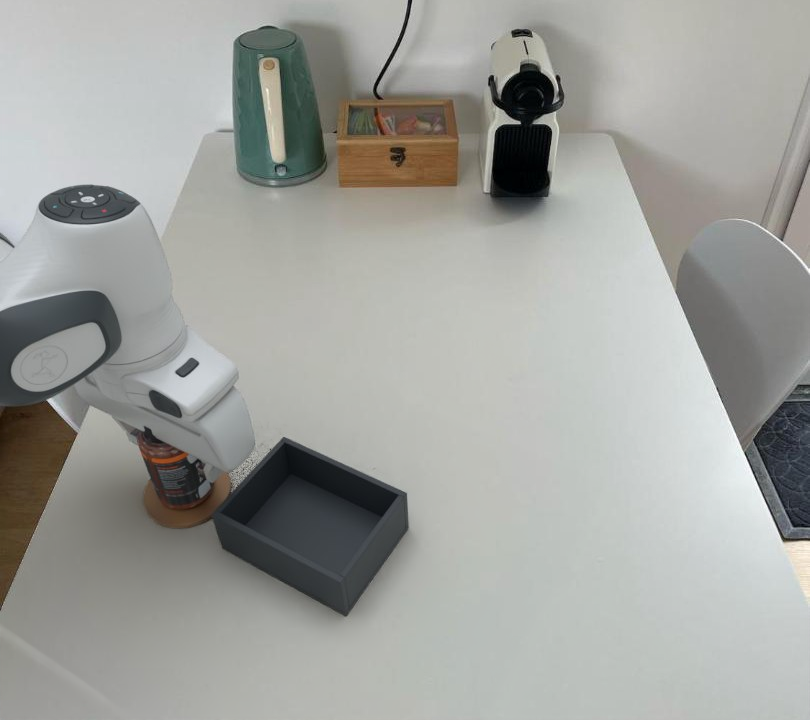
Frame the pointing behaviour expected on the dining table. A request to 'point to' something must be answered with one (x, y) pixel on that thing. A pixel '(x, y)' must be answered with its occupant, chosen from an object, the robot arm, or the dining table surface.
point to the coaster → (190, 515)
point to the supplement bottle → (173, 473)
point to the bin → (313, 523)
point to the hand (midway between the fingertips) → (175, 457)
